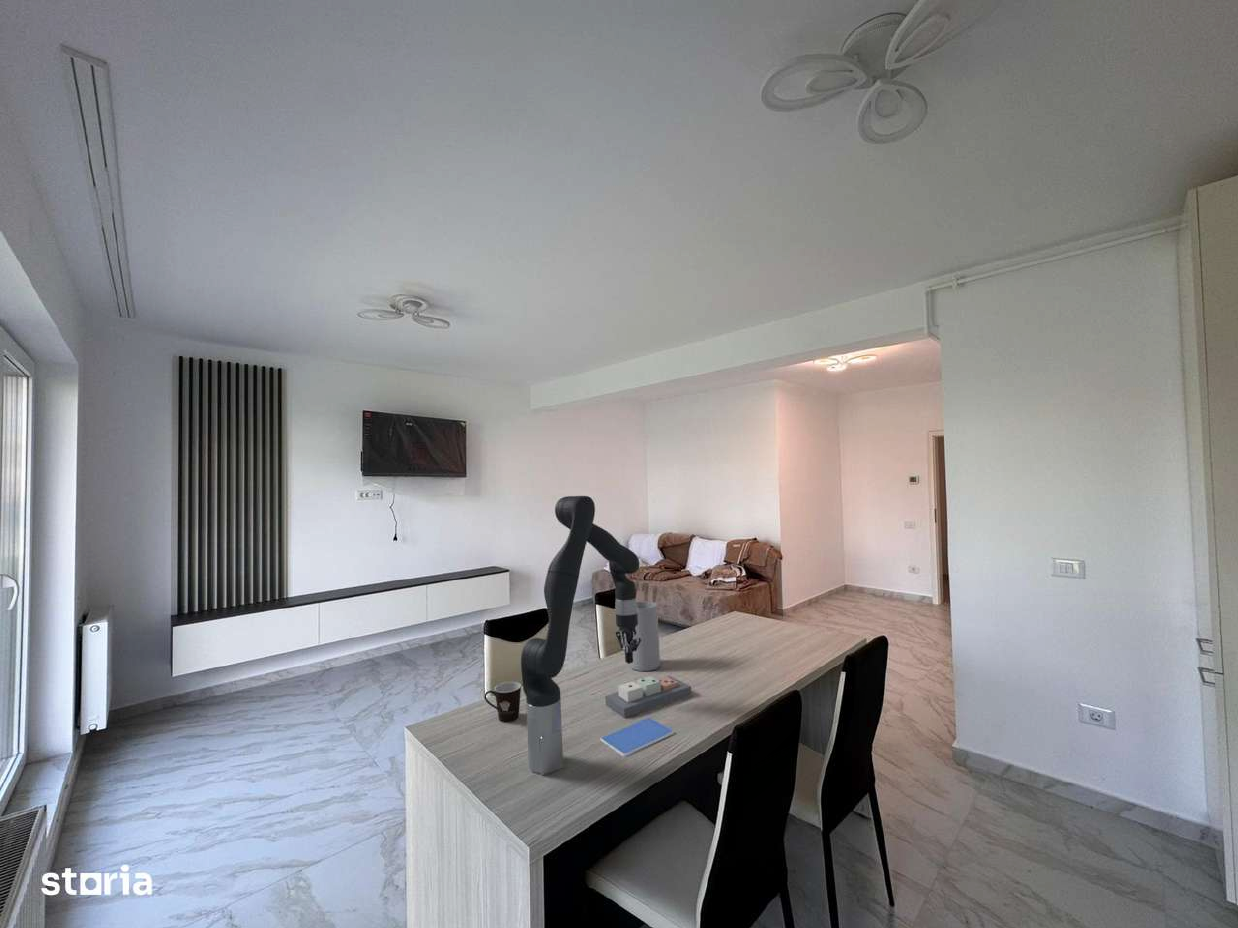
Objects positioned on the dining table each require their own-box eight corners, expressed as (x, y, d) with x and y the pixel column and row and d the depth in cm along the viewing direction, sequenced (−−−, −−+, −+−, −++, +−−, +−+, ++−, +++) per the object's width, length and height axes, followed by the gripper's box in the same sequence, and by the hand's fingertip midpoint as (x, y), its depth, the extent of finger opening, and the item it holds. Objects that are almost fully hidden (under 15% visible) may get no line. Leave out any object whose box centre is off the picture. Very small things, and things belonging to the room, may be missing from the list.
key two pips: (660, 691, 167) (660, 680, 167) (646, 696, 164) (646, 685, 164) (650, 686, 172) (650, 675, 172) (636, 690, 169) (636, 679, 169)
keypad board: (691, 694, 170) (690, 686, 170) (624, 718, 155) (624, 708, 155) (670, 684, 180) (670, 675, 180) (605, 704, 166) (605, 695, 166)
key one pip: (643, 697, 163) (642, 686, 163) (628, 702, 160) (627, 690, 160) (633, 691, 168) (632, 680, 168) (618, 696, 165) (618, 685, 165)
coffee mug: (527, 714, 161) (526, 684, 161) (509, 726, 154) (508, 694, 154) (502, 708, 167) (500, 678, 167) (483, 719, 159) (482, 688, 160)
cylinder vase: (660, 660, 205) (657, 601, 206) (659, 671, 193) (656, 608, 194) (631, 660, 206) (628, 601, 208) (628, 672, 194) (625, 609, 195)
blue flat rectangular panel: (624, 759, 133) (624, 754, 133) (598, 741, 143) (598, 737, 143) (676, 735, 144) (675, 730, 144) (649, 720, 154) (648, 716, 154)
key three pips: (678, 692, 171) (677, 681, 171) (664, 696, 168) (664, 685, 168) (667, 686, 176) (667, 676, 176) (654, 690, 173) (653, 680, 173)
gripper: (646, 613, 162) (649, 665, 161) (625, 605, 173) (628, 654, 172) (627, 617, 158) (630, 671, 157) (607, 609, 169) (609, 659, 168)
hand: (629, 662), depth 165 cm, fingers closed
